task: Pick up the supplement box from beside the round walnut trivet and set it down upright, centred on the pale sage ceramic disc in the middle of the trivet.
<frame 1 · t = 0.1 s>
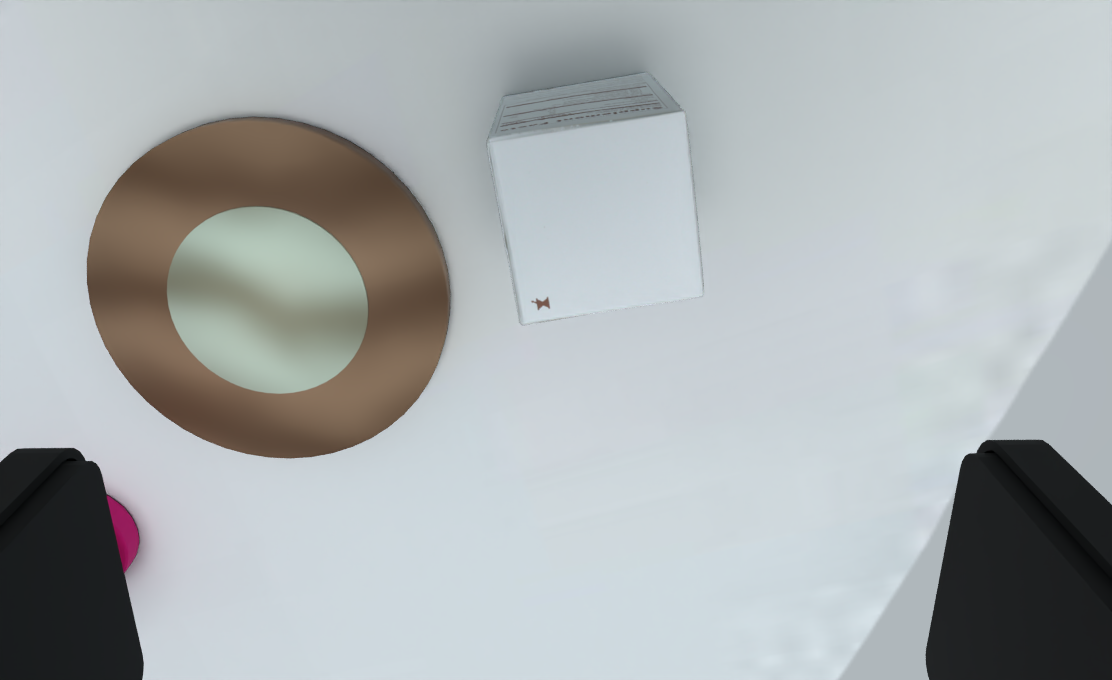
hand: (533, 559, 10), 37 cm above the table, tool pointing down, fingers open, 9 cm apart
trivet: (277, 292, 48), on the table
pepper mill: (87, 529, 53), on the table
supplement box: (585, 154, 45), on the table
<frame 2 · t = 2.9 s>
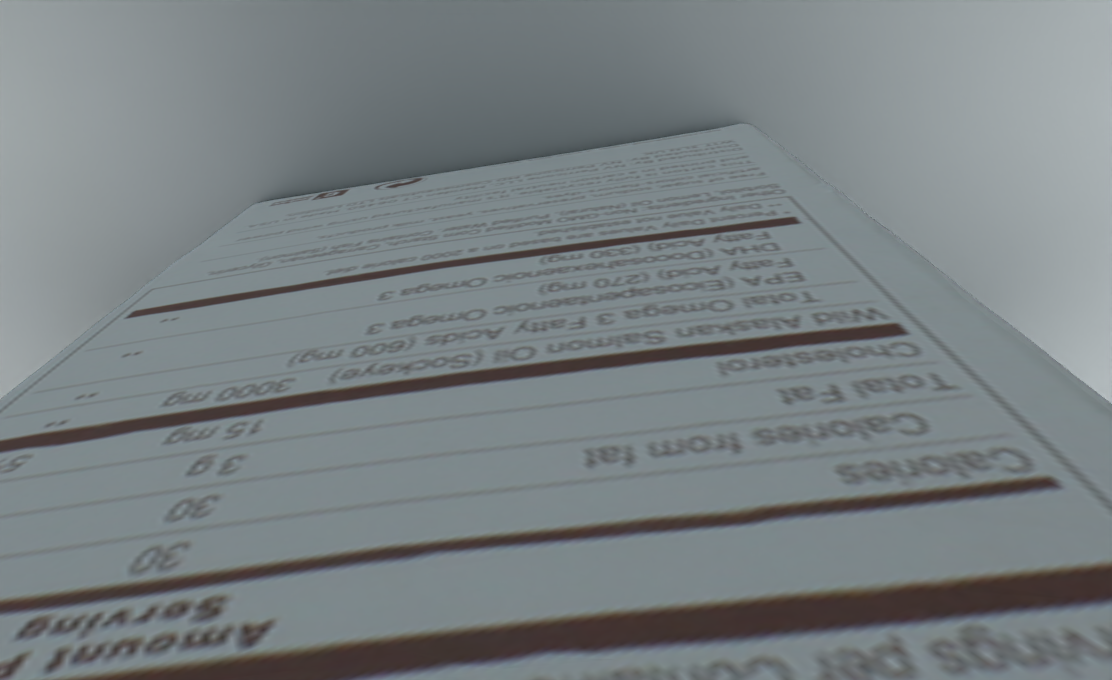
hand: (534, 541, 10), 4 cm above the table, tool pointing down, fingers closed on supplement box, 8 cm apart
supplement box: (538, 376, 14), on the table, touching gripper
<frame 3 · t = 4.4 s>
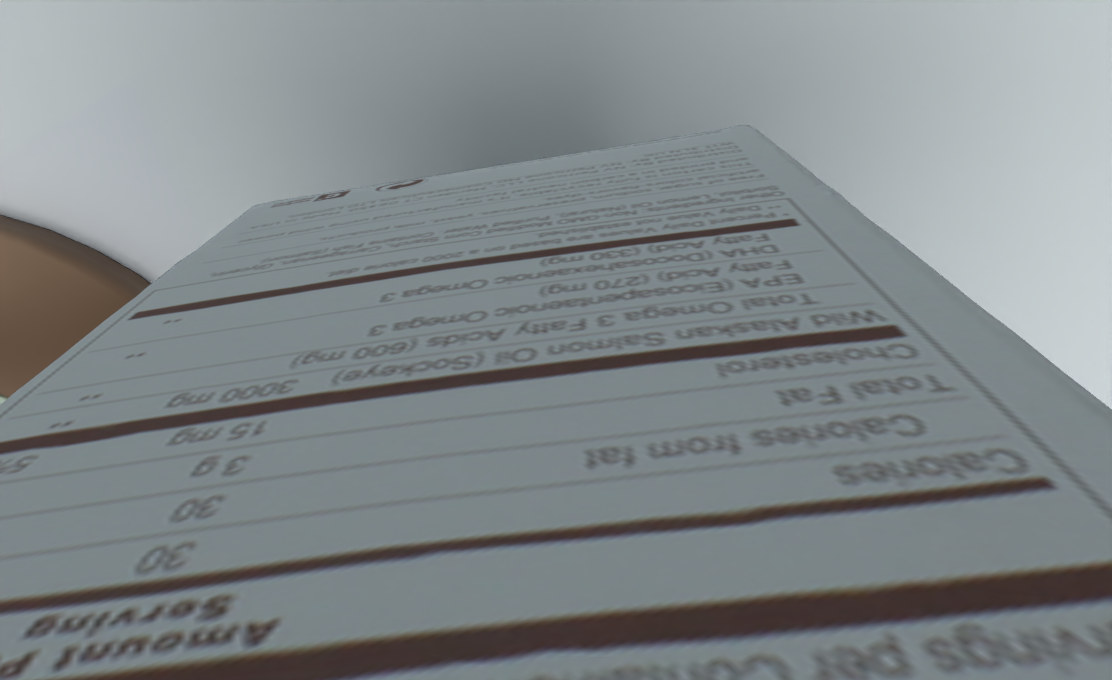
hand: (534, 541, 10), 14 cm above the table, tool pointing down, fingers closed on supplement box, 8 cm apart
supplement box: (538, 377, 14), point 9 cm above the table, touching gripper
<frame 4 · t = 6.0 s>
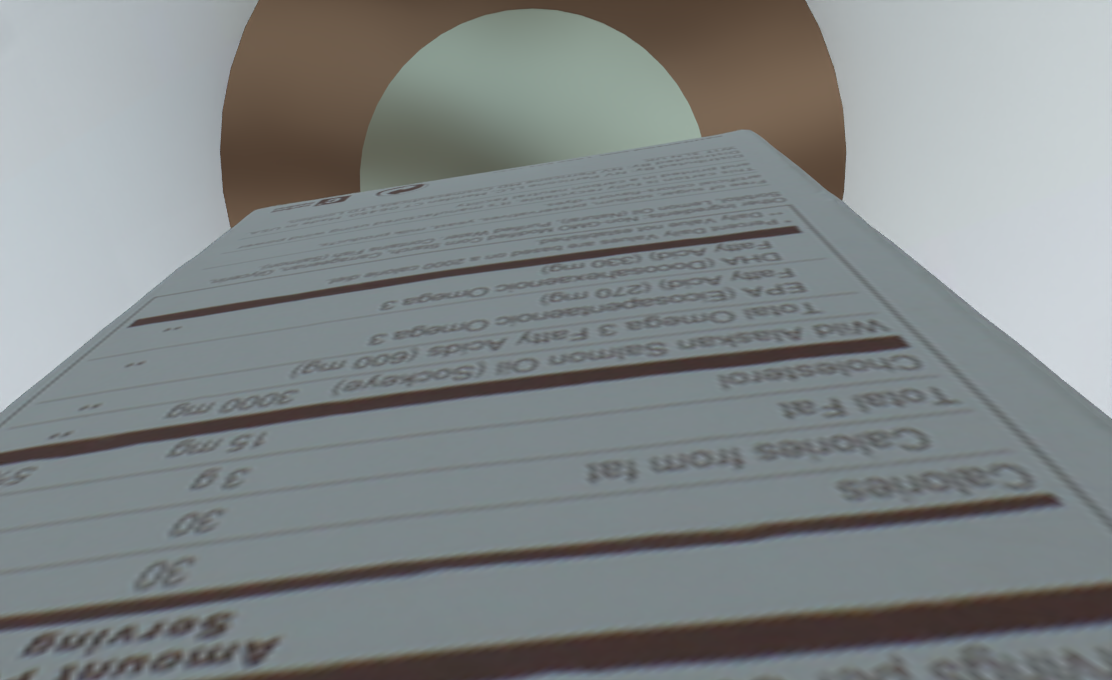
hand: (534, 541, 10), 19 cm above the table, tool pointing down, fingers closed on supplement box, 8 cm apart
trivet: (535, 180, 28), on the table
supplement box: (539, 381, 14), point 15 cm above the table, touching gripper
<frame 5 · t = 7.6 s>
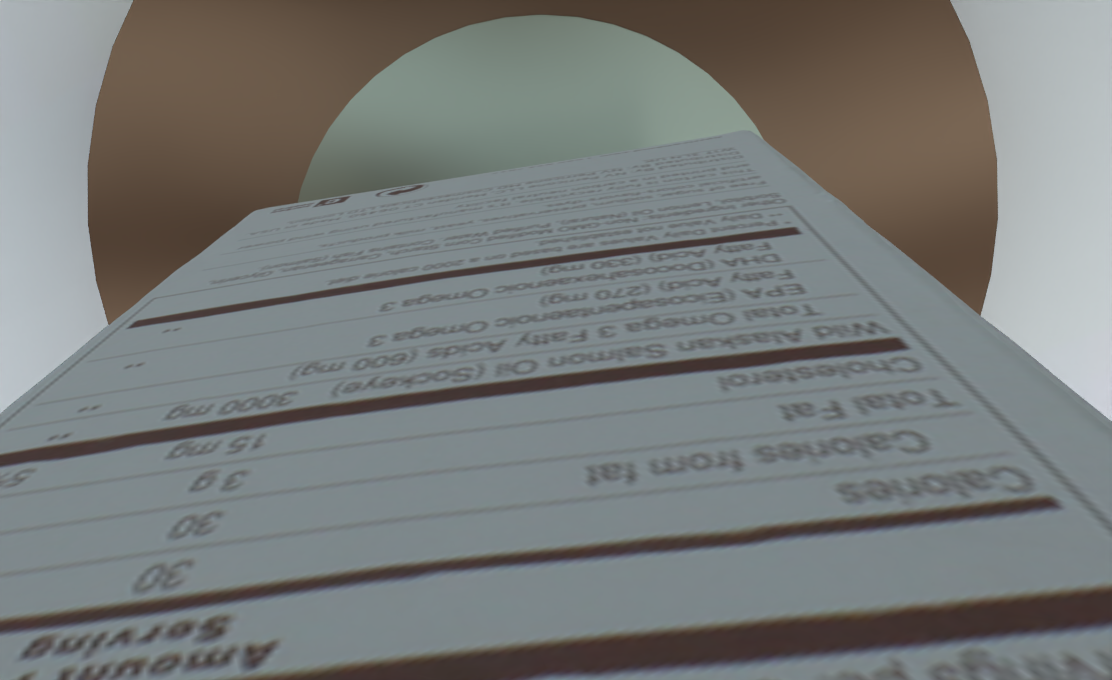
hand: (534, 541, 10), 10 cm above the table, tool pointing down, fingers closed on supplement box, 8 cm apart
trivet: (544, 255, 20), on the table
supplement box: (538, 382, 14), point 6 cm above the table, touching gripper
when the fingers open (6 cm above the table, at t = 9.0 s): supplement box stays where it is, resting on trivet.
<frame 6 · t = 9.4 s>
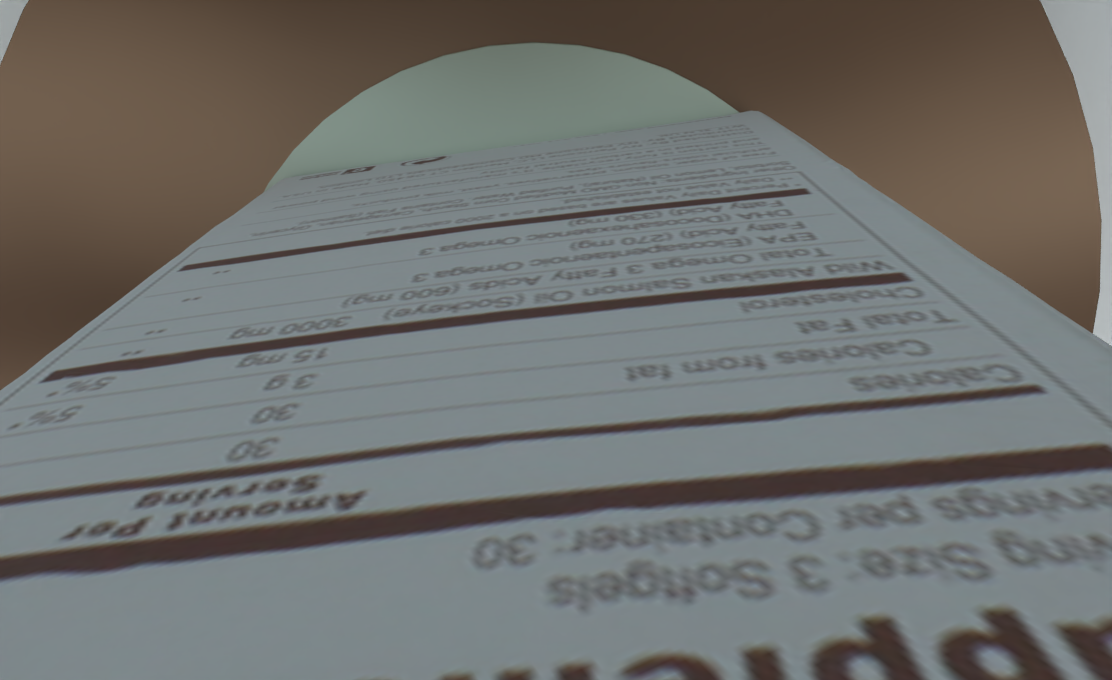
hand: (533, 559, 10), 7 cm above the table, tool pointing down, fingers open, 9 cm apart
trivet: (539, 329, 16), on the table
supplement box: (549, 352, 15), point 1 cm above the table, touching trivet
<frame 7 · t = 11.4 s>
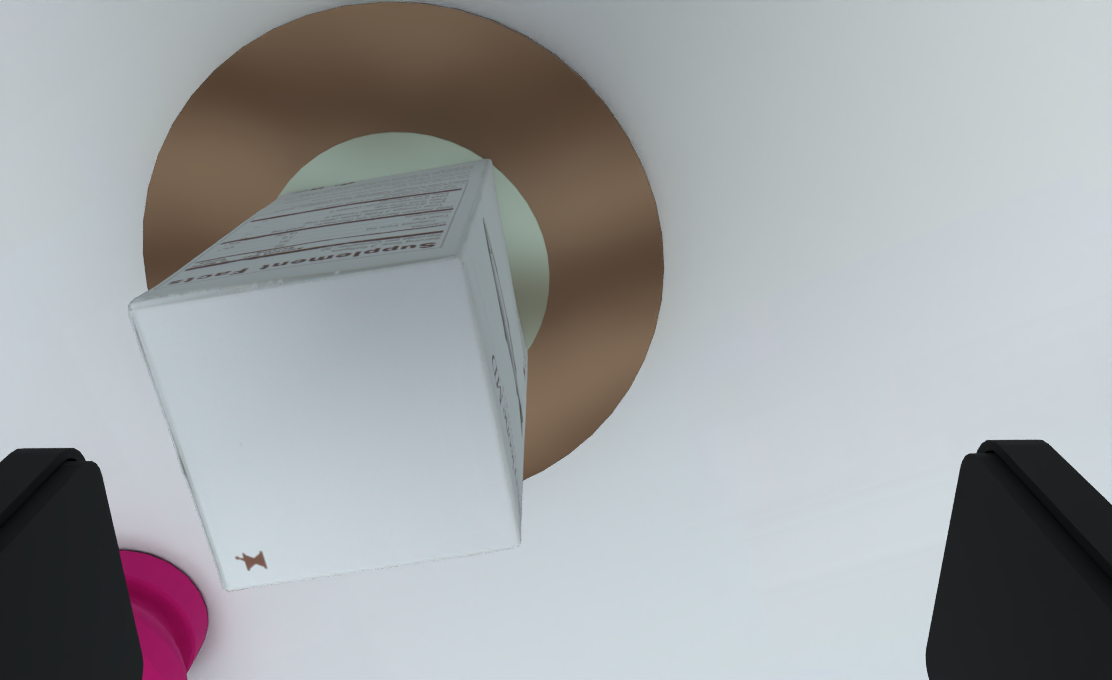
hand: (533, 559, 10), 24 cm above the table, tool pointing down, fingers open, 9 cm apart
trivet: (411, 265, 33), on the table
pepper mill: (136, 608, 39), on the table
supplement box: (410, 272, 32), point 1 cm above the table, touching trivet
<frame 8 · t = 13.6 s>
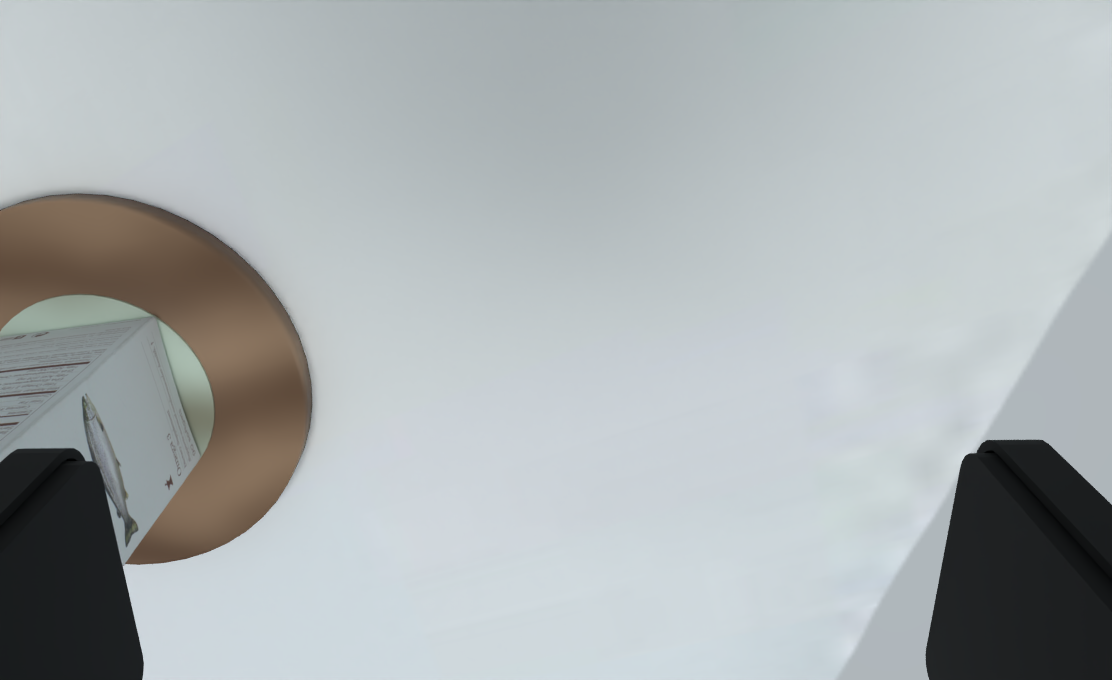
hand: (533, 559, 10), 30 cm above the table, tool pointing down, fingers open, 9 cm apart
trivet: (117, 384, 43), on the table
supplement box: (105, 394, 41), point 1 cm above the table, touching trivet
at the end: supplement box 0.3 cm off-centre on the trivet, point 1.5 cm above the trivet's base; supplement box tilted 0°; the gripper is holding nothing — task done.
